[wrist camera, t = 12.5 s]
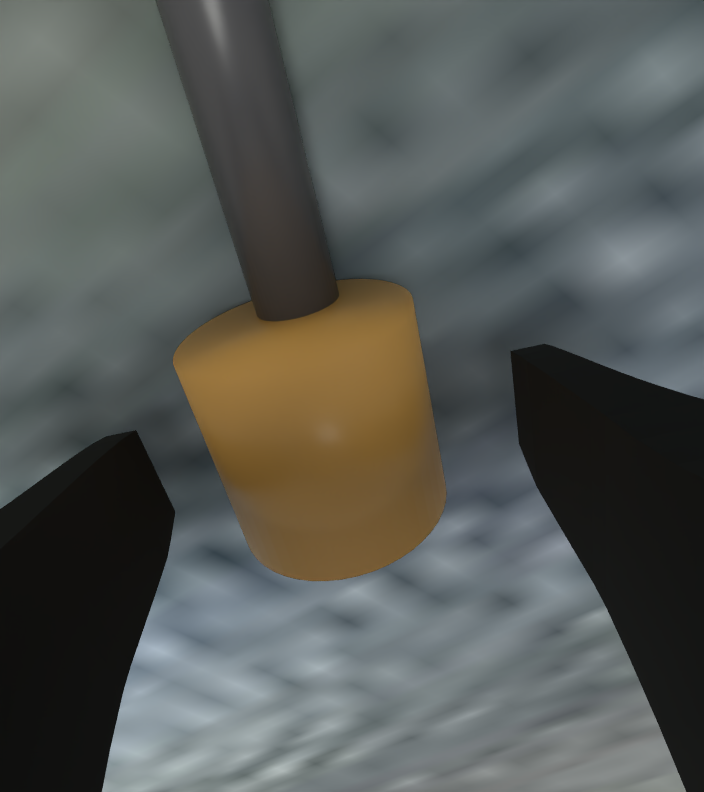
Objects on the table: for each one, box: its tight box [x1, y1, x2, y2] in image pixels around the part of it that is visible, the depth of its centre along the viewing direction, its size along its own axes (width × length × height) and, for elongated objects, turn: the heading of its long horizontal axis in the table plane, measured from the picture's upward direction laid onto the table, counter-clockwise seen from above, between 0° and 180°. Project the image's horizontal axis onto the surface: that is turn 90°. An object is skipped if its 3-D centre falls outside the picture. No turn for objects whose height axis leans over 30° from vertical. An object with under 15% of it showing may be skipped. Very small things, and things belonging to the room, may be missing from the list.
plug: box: [156, 0, 447, 581], centre depth 8 cm, size 16×4×4 cm, turn 13°
